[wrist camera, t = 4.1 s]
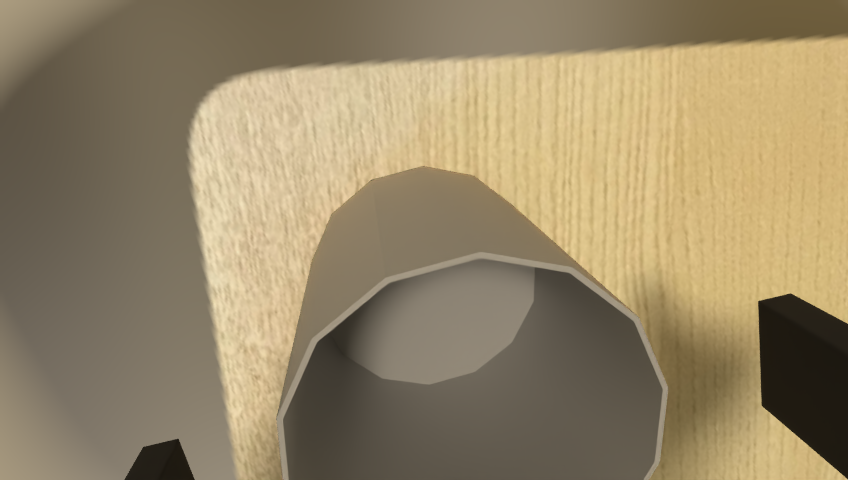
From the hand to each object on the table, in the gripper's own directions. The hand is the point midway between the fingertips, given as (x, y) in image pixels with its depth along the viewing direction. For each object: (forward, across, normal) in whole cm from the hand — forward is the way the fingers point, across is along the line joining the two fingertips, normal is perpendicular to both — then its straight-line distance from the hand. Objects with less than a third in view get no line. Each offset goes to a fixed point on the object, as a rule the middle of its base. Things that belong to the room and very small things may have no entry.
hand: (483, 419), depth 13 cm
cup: (+10, 0, 0) cm, 10 cm away
